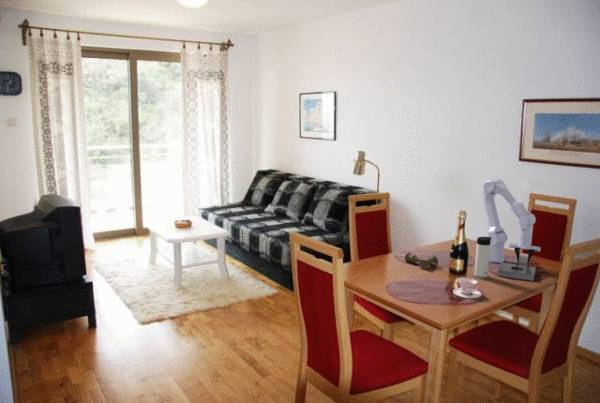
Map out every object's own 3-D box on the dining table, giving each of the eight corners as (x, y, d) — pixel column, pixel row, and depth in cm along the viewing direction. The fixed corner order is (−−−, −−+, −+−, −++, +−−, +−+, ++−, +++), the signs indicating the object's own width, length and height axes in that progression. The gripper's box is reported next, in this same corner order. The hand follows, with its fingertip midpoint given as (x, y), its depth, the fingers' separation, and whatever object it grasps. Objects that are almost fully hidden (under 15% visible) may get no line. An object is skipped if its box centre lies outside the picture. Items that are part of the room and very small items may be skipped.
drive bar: (518, 268, 253) (519, 255, 252) (518, 266, 256) (519, 253, 255) (526, 269, 251) (527, 256, 250) (527, 267, 254) (528, 254, 253)
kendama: (412, 260, 267) (444, 268, 252) (401, 264, 261) (433, 273, 246) (412, 250, 266) (444, 257, 251) (401, 253, 260) (433, 261, 245)
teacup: (447, 293, 219) (448, 280, 217) (461, 286, 227) (462, 274, 226) (473, 301, 210) (474, 287, 209) (486, 294, 218) (487, 280, 217)
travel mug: (489, 279, 237) (492, 239, 233) (475, 278, 238) (478, 238, 235) (487, 274, 243) (490, 235, 239) (473, 273, 244) (476, 235, 241)
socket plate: (497, 275, 242) (498, 270, 241) (500, 267, 254) (501, 262, 253) (533, 281, 234) (533, 275, 234) (534, 272, 247) (535, 267, 246)
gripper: (509, 237, 250) (507, 262, 253) (541, 241, 244) (538, 267, 246) (510, 234, 257) (508, 259, 259) (541, 237, 250) (538, 263, 252)
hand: (523, 262), depth 253 cm, fingers closed on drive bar, 4 cm apart
